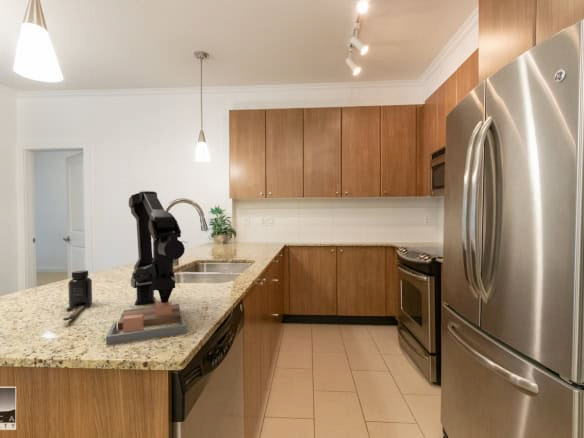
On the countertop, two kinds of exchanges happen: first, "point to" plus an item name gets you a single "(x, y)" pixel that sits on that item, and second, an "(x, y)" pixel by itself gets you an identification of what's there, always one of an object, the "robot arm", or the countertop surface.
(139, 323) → the tile
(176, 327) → the tray
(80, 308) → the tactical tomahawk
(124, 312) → the walnut board
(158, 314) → the block
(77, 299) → the supplement bottle
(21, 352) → the countertop surface
